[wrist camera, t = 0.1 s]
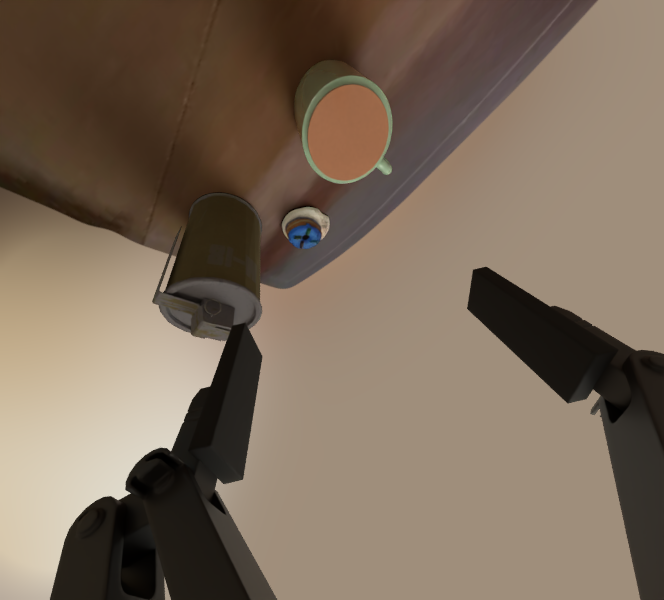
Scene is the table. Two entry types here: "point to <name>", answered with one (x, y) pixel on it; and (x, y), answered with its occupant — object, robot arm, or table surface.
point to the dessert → (305, 227)
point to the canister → (215, 269)
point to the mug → (342, 122)
